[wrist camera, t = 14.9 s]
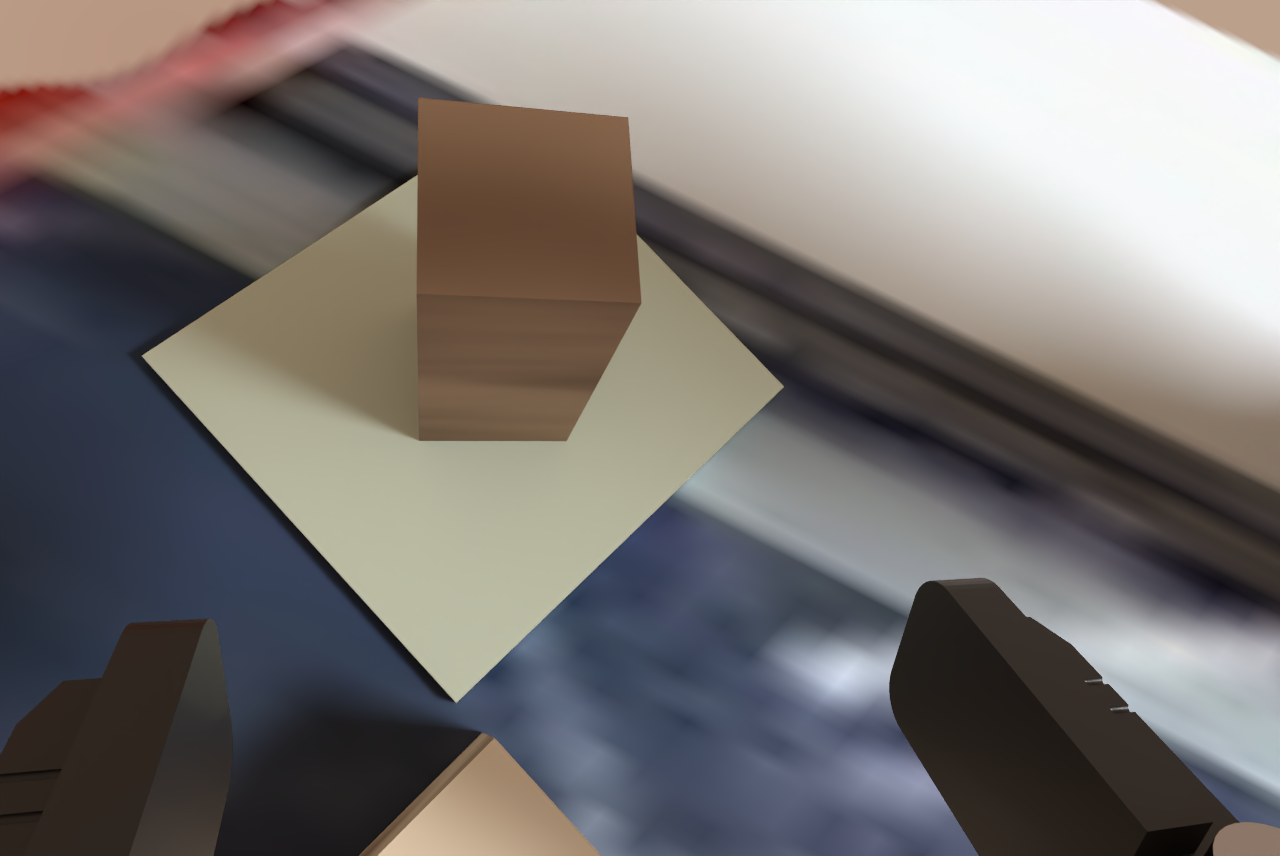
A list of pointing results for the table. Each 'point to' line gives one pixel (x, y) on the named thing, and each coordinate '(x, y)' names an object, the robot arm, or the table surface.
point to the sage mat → (449, 470)
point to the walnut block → (519, 267)
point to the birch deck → (481, 813)
